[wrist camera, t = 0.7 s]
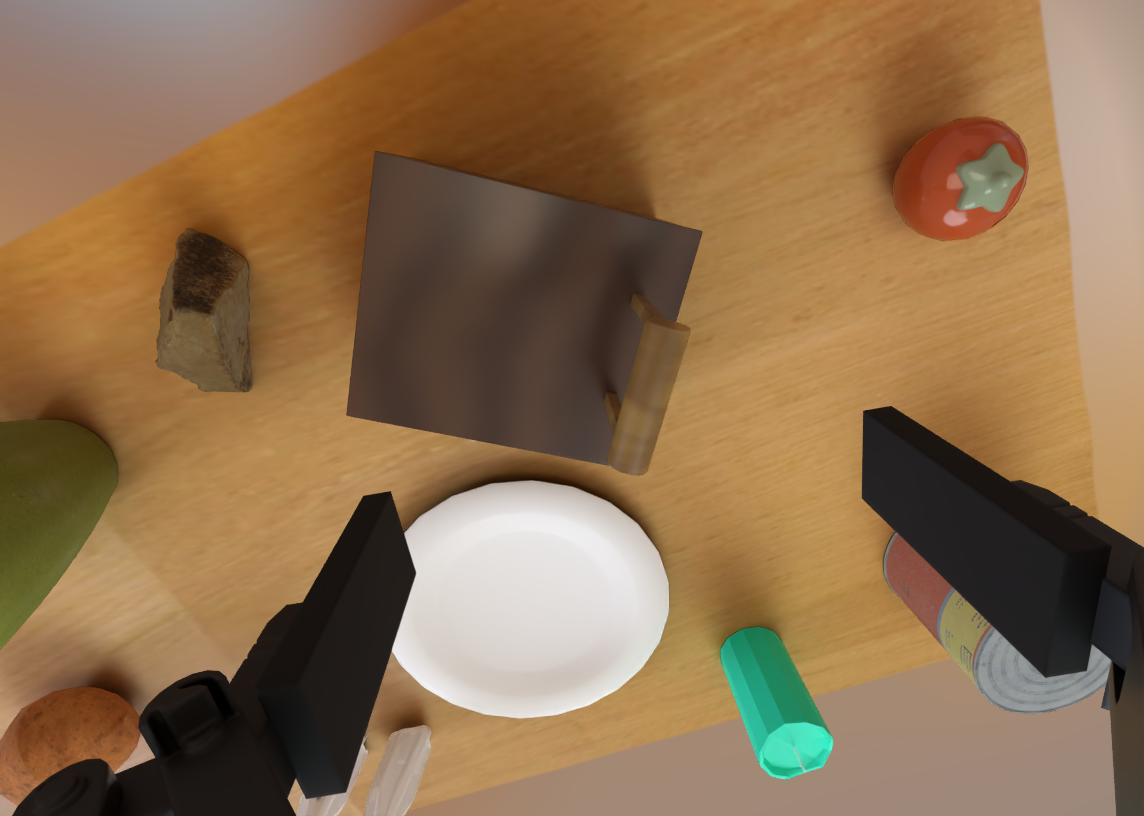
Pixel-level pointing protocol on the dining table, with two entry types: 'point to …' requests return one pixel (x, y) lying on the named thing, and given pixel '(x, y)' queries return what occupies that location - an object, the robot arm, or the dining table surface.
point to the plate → (529, 599)
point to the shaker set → (383, 777)
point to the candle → (774, 704)
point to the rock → (206, 315)
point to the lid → (517, 316)
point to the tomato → (961, 178)
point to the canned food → (984, 641)
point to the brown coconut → (65, 737)
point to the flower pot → (46, 508)
